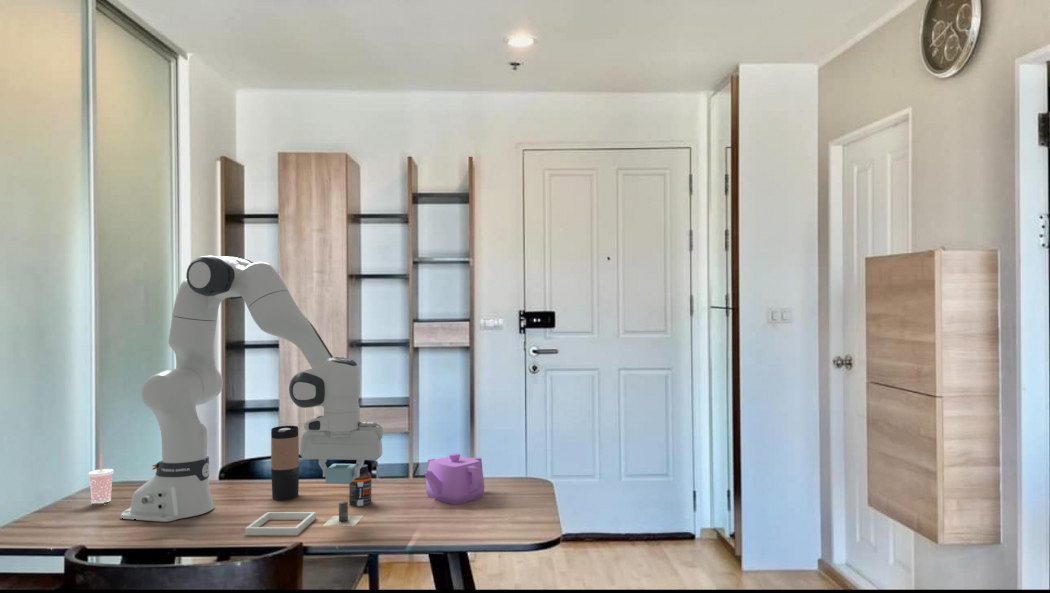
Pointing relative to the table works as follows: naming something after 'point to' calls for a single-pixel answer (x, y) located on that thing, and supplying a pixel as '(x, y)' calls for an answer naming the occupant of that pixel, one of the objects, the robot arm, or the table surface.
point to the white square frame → (257, 530)
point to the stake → (343, 517)
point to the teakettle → (455, 479)
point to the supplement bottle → (360, 488)
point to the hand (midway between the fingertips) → (341, 476)
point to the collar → (340, 473)
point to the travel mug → (285, 462)
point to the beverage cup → (101, 484)
